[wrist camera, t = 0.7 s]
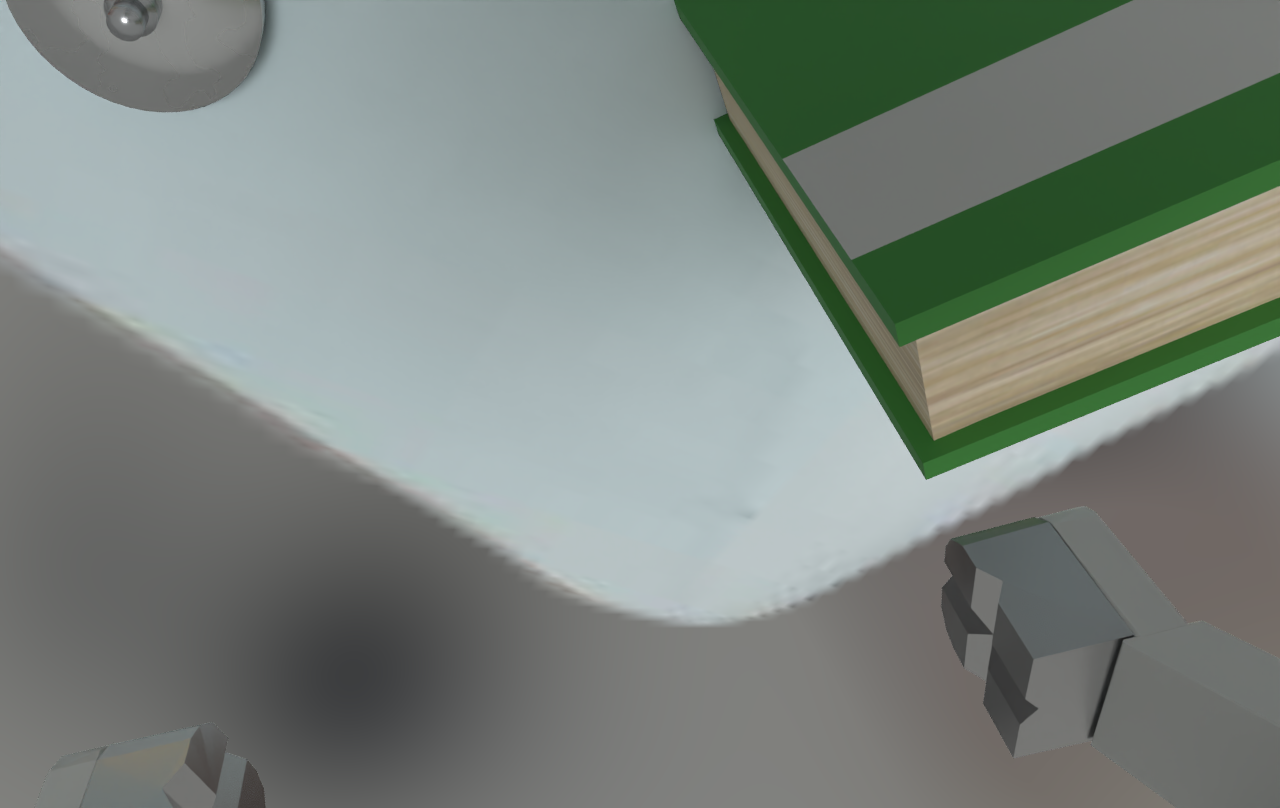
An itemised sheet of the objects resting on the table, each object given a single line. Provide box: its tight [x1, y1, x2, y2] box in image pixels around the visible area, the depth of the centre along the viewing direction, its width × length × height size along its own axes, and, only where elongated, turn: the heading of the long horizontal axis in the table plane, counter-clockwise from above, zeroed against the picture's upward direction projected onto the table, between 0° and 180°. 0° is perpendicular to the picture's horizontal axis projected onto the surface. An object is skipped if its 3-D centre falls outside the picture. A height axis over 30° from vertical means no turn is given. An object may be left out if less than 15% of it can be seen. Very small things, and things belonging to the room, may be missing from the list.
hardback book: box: [674, 0, 1280, 480], centre depth 33 cm, size 18×7×24 cm, turn 110°
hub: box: [6, 0, 266, 112], centre depth 34 cm, size 9×9×4 cm
